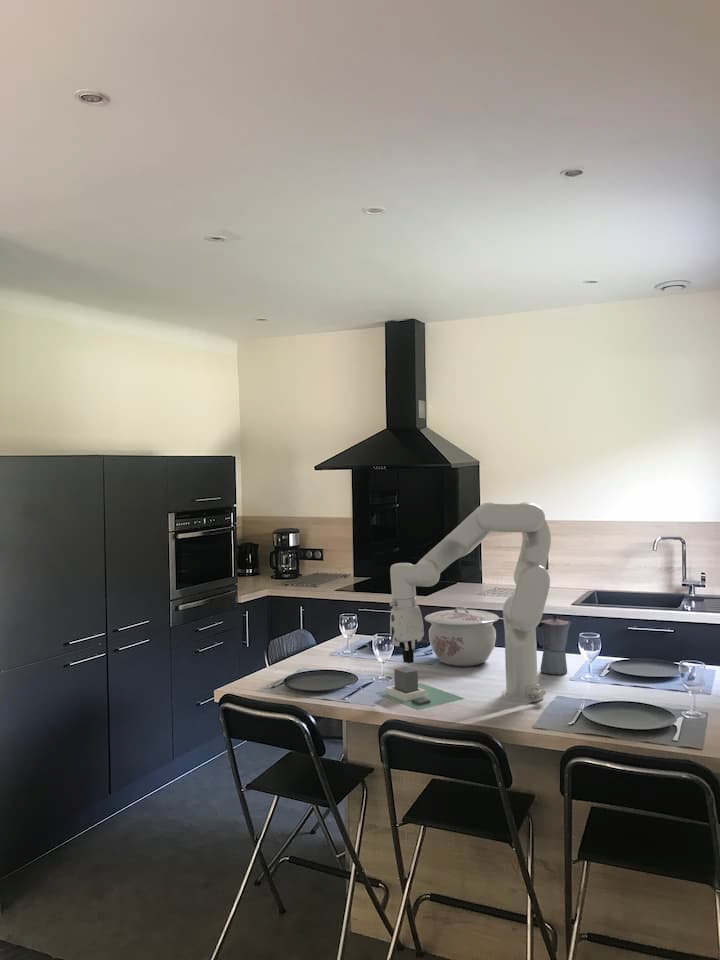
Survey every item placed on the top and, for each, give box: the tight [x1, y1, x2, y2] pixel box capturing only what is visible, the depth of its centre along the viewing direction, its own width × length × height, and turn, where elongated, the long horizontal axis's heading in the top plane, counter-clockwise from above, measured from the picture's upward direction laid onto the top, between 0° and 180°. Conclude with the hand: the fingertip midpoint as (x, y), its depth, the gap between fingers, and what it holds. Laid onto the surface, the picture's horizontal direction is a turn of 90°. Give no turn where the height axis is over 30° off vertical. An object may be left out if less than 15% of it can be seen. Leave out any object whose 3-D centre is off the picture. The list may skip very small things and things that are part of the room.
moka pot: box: [536, 613, 572, 675], centre depth 260 cm, size 10×15×20 cm, turn 112°
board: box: [375, 682, 466, 711], centre depth 233 cm, size 22×18×3 cm
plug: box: [393, 666, 419, 693], centre depth 234 cm, size 7×4×8 cm, turn 33°
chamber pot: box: [424, 605, 500, 668], centre depth 278 cm, size 28×28×21 cm
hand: (408, 662), depth 234 cm, fingers closed
